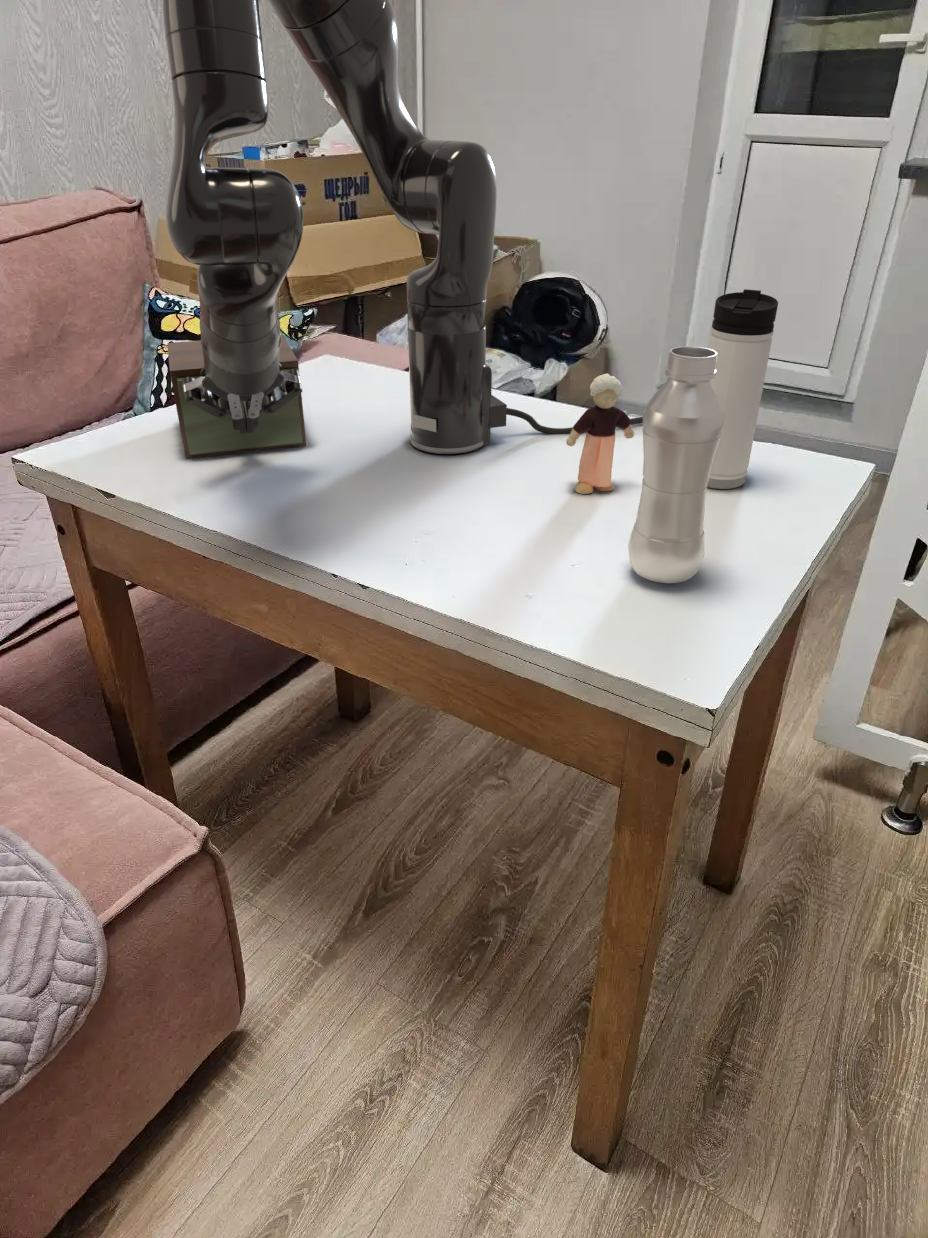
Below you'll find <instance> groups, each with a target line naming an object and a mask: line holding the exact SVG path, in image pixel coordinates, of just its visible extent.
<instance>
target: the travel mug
mask: <svg viewBox="0 0 928 1238" xmlns="http://www.w3.org/2000/svg"><path fill="white" fill-rule="evenodd" d="M715 299H716V300H715V303H714V310H713V320H712V324H711V326H710V332H711V333H710V335H709V341H708V347H707V349H711V350H714V351H716V352H717V361H716V367H715V370H716V375H715V378H713V379H711V386H712V388H713V389H714V391H715V393H716V395H717V396H718V398H719V401H720V403H721V405H722V408H723V412H724V419H725V422H724V426H723V430H722V433H721V437H720V440H719V444H718V447H717V450H716V453H715V456H714V460H713V463H712V467H711V471H710V476H709V481H708V482H707V484H708V486H707V488H708V489H709V488H710V489H717V490H731V489H736V488H739V487H741V486H742V485H744V484H745V483H746V482H747V481H746V480H747V474H748V469H749V464H750V460H751V459H750V458H751V452H752V448H753V443H754V437H755V433H756V427H757V422H758V416H759V410H760V407H761V406H760V405H761V401H762V395H763V389H764V385H765V384H764V383H765V378H766V373H767V369H768V363H769V357H770V352H771V348H772V341H773V336H774V333H775V332H774V331H775V330H774V328H775V321H776V317H777V313H778V306H779V301H778V299H776V298H775V297H773V296H771V295H769V294H764V293H762V290H760V289H748V288H747V289H746V288H744V289H743V291H742V292H741V291H739V292H737V291H736V292H730V293H725V294H722V295H720V296H718V297H717V298H715Z"/></svg>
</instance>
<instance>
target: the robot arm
mask: <svg viewBox="0 0 928 1238" xmlns="http://www.w3.org/2000/svg"><path fill="white" fill-rule="evenodd" d="M267 1H268V3H269V4H270V6H271V8H272V10H273V11H274V13H275V15H276V17H277V18H278V20H279V22H280V24H281V25H282V26H283V28H284V29H285V31H286V32H287V34H288V35H289V37H290V38H291V40H292V42H293V44H294V45H295V47H296V48H297V50H298V51H299V53H300V55H301V56H302V57H303V59H304V60H305V62H306V64H307V65H308V66H309V68H310V69H311V71H312V72H313V73H314V75H315V77H316V78H317V79H318V81H319V82H320V84H321V86H322V87H323V89H324V90H325V92H326V94H327V95H328V96H329V98H330V100H331V102H332V104H333V106H334V107H335V109H336V111H337V112H338V114H339V115H340V117H341V119H342V120H343V122H344V123H345V125H346V127H347V128H348V130H349V132H350V133H351V135H352V137H353V138H354V140H355V142H356V144H357V146H358V147H359V149H360V151H361V153H362V155H363V157H364V159H365V161H366V163H367V165H368V167H369V169H370V171H371V173H372V175H373V177H374V179H375V182H376V183H377V185H378V187H379V190H380V191H381V193H382V195H383V198H384V200H386V203H387V205H388V207H389V208H390V210H391V212H392V214H393V215H394V216H395V217H396V219H397V220H398V221H399V222H400V223H401V224H402V225H403V226H404V227H406V228H407V229H409V230H411V231H413V232H416V233H419V234H426V235H434V236H435V235H436V236H438V241H437V252H436V257H435V259H433V261H431V262H430V263H429V264H428V265H425V266H423V267H419V268H417V269H414V270H411V272H410V273H409V274H408V275H407V278H406V313H407V314H406V315H407V340H408V341H407V343H408V346H407V347H408V368H409V369H408V372H409V373H408V374H409V375H408V376H409V401H410V402H409V404H410V443H411V445H412V446H413V447H414V448H415V449H417V450H420V451H423V452H426V453H430V454H439V455H455V454H464V453H465V454H466V453H469V452H473V451H477V450H478V449H480V448H482V446H483V447H484V446H488V445H491V442H492V441H491V440H492V439H491V438H492V437H491V436H492V435H491V433H492V429H494V428H502V427H507V416H511V417H516V418H520V419H522V420H524V421H526V422H527V423H528V424H529V426H531V428H533V429H534V430H535V431H537V432H539V433H543V434H547V435H570V433H571V431H572V429H573V426H572V427H563V428H561V427H560V428H557V427H556V428H555V427H549V426H544V425H541V424H539V422H537V420H536V419H535V418H534V417H533V416H532V415H530V413H529V414H528V413H527V412H524V411H522V410H519V409H514V408H510V407H508V405H507V404H506V403H505V402H503V401H502V400H501V399H499V398H497V397H496V396H494V394H492V388H493V387H492V383H493V381H492V379H493V370H492V367H490V366H489V365H488V364H486V357H487V356H486V353H487V351H486V350H487V349H486V348H487V347H486V344H487V340H486V339H487V295H488V293H487V291H488V284H489V280H490V278H491V277H490V276H491V273H492V269H493V261H494V247H495V246H494V245H495V230H496V229H495V228H496V216H497V200H498V199H497V198H498V191H497V189H498V188H497V187H498V186H497V175H496V170H495V166H494V165H495V164H494V163H493V159H492V157H491V155H490V154H489V152H488V150H487V149H486V147H484V146H483V145H481V144H479V143H478V142H473V141H466V140H445V139H444V140H442V139H430V138H427V136H425V135H424V134H423V132H421V130H420V129H419V127H418V126H417V124H416V123H415V121H414V120H413V118H412V116H411V114H410V112H409V110H408V108H407V107H406V105H405V103H404V100H403V98H402V95H401V93H400V89H399V80H398V79H399V77H398V74H399V73H398V71H399V69H398V68H399V32H398V25H397V24H398V23H397V18H396V13H395V9H394V6H393V3H392V1H391V0H267ZM259 2H260V1H259V0H162V18H163V29H164V36H165V43H166V50H167V58H168V65H169V72H170V79H171V89H172V98H173V110H174V111H173V112H174V113H173V114H174V116H173V117H174V119H173V120H174V134H173V147H172V148H173V149H172V161H171V167H170V168H171V169H170V174H169V181H168V188H167V196H166V205H165V222H166V230H167V232H168V236H169V238H170V242H171V243H172V245H173V247H174V248H175V250H176V251H177V253H178V254H179V255H180V256H181V257H182V258H183V259H184V260H185V261H186V262H188V263H190V264H193V265H195V266H198V268H197V278H196V279H197V291H198V299H199V300H198V301H199V308H200V313H199V332H200V340H201V344H202V350H203V358H204V367H203V368H202V370H201V372H200V376H201V377H199V378H197V379H194V378H192V377H184V378H183V379H182V383H183V391H184V396H185V401H186V402H188V403H190V404H191V405H193V406H195V407H197V408H199V409H201V410H203V411H205V412H207V413H209V414H211V415H213V416H215V417H217V418H225V417H226V416H227V415H230V416H231V419H232V425H233V428H234V429H235V430H239V432H240V434H241V433H246V431H247V433H252V432H253V428H257V427H258V426H259V425H258V416H259V414H260V413H261V412H264V413H266V414H272V413H274V412H276V411H277V410H278V409H280V408H281V407H283V406H284V405H285V404H287V403H288V402H289V401H291V400H292V399H294V398H295V397H296V396H298V395H299V394H300V393H301V394H302V393H303V387H302V382H301V377H300V376H301V375H300V370H299V371H298V370H297V369H291V370H289V371H288V372H284V371H282V366H281V364H280V363H279V360H280V345H281V335H282V334H281V322H280V321H281V320H280V316H279V295H280V289H281V287H282V285H283V282H284V280H285V279H286V277H287V275H288V273H289V271H290V270H291V267H292V265H293V264H294V261H295V259H296V256H297V254H298V252H299V249H300V245H301V242H302V239H303V238H302V237H303V232H304V209H303V208H304V207H303V203H302V199H301V196H300V193H299V192H298V190H297V187H295V185H294V183H293V182H292V181H291V180H290V179H289V177H287V176H286V175H285V174H284V173H283V172H281V171H279V170H276V169H273V168H269V167H248V168H247V167H209V166H207V164H206V163H207V158H208V157H207V156H208V154H209V152H210V150H211V149H212V148H213V147H214V146H215V145H216V144H218V143H220V142H222V141H223V142H224V141H225V140H228V139H233V138H237V137H241V136H246V135H250V134H254V133H256V132H258V131H260V130H262V129H263V128H264V127H265V126H266V124H267V122H268V119H269V113H270V112H269V107H270V106H269V95H268V86H267V85H268V84H267V74H266V73H267V72H266V65H265V54H264V53H265V52H264V45H263V35H262V25H261V16H260V3H259ZM299 375H300V376H299ZM274 395H275V399H274V400H273V397H272V396H274ZM242 401H243V402H244V408H243V403H242ZM213 402H214V403H213ZM630 420H631V426H634V425H640V424H642V423H643V416H639V417H632V418H630ZM616 428H617V427H616ZM584 433H587V431H585V432H584Z"/></svg>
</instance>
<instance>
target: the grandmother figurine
mask: <svg viewBox="0 0 928 1238" xmlns="http://www.w3.org/2000/svg"><path fill="white" fill-rule="evenodd" d="M589 389H590V392H589V394H590V396H591V397H592V399H593V403H594V406H592V407H588V408H587V409H586V410H585V411H584V412H583V414H582V415H581V416H580V417H579V418H578V420H577V421H576V422H575V423H574V425H573V426H572V427H573V429H572V431H571V433H570V434H569V436H568V437H567V438H566V441H565V442H566V445H567V446H568V447H574V446H575V445H576V443H577V440H578V439H579V438H580V436H581V434H583V433H586V434H585V437H584V442H583V446H582V451H581V455H580V459H579V465H578V473H577V482H576V483H575V485H574V490H575V492H576V493H578V494H582V495H588V494H592V493H593V492H594V488H595V489H596V490H598V491H600V492H610V491H613V490H614V484H613V483H612V473H613V461H614V454H615V453H614V451H615V445H616V444H615V443H616V427H617V428H618V429H620V430H622V432H623V435H624V437H625V438H626V439H633V438H634V436H635V432H634V430H633V427H632V426H633V425H631V420H630V419H631V418H630V417H629V416H628V414H627V413H626V412H625V411H624V410H622V409H621V408H618V407H616V406H615V405H616V403H617V400H618V398H619V396H621V392H623V386H622V384H621V381H620V380H619V379H618V378H616V377H615V376H614V375H610V374H609V373H604V374H602V375H598V376H596V377H594V379H593V381H592V382H591V384H590V385H589ZM585 431H587V432H585Z"/></svg>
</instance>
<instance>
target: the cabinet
mask: <svg viewBox="0 0 928 1238" xmlns="http://www.w3.org/2000/svg"><path fill="white" fill-rule="evenodd" d="M166 345H167V355H168V366H169V375H170V380H171V385H172V391H173V397H174V402H175V409H176V415H177V419H178V425H179V429H180V435H181V441H182V447H183V452H184V458H185V459H186V460H187V459H195V458H196V459H197V458H205V457H217V456H225V455H234V454H235V455H236V454H243V453H245V454H246V453H253V452H262V451H272V450H273V451H274V450H282V449H290V448H291V449H292V448H300V447H306V446H307V445H308V444H307V438H306V437H307V435H306V427H305V426H306V425H305V416H304V407H303V406H304V405H303V397H302V393H300V394H299V395H298V403H299V413H300V423H301V432H302V443H295V444H286V445H276V446H267V447H257V448H247V449H238V450H228V451H219V452H209V453H199V454H190V452H189V446H188V441H187V435H186V429H185V424H184V418H183V412H182V407H181V401H180V396H179V390H178V384H177V378H183V376H195V375H200V372H201V370H202V368H203V367H204V358H203V350H202V344H201V339H200V340H189V341H188V340H187V341H175V342H167V343H166ZM279 363H280V364H281V366H282V368H287V369H297V370H298V371H299V372H300V368H299V367H300V365H299V359H297V356H296V355H295V353H294V351H293V350H292V348H291V346H290V344H289V342H288V341H287V339H286V337H285V336H284V334H281V345H280V360H279ZM299 376H301V375H300V374H299ZM307 447H308V446H307Z"/></svg>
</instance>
